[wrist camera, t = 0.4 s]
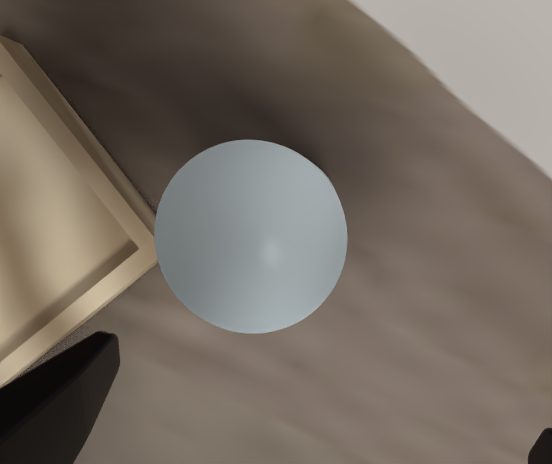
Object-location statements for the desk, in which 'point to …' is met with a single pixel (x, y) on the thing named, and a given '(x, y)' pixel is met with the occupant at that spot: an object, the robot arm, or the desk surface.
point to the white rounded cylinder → (250, 236)
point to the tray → (58, 218)
